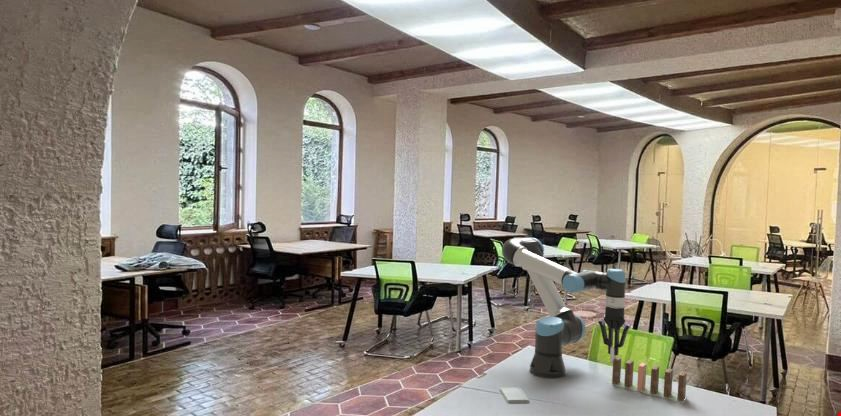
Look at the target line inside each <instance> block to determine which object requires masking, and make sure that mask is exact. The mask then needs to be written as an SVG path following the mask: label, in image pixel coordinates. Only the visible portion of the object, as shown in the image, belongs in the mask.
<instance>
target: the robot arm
mask: <svg viewBox="0 0 841 416" xmlns="http://www.w3.org/2000/svg"><path fill="white" fill-rule="evenodd" d="M544 251H545V248H544V245H543V243H542V242H541V241H540V239H537V238H535V237H530V236H527V237H513V238H509V239H508V240H506V241H505V242H504V243H503V245H502V248H501V254H502V257H503V258H504V260H505V261H507V262H508V263H509V264H511V265H514V266H515V267H518V268H519V267H521V268H522V270H524V271H526V272H527V273H528V275H529V277H530V279H531V281H532V283H533V285H534V287H535V290H537V293H538V295H539V297H540V299H541V301H542V302H543V305H544V306H545V309H546V311H547V313H548V314H549V316H542V317H541V318H539V319H538V320H536V324H535V329H534V330H535V335H534V336H535V339H534V341H535V342H534V355H533V357H532V360H531V362H530V365H529V371H530V373H531V374H533V375H534V376H537V377H541V378H546V379H560V378H564V377H565V376H566V365H565V362H564V359H563V347H565V346H568V345H572V344H573V345H574V344H577V343H578V342H580V341H581V340H583V339H584V337H585V336H586V335H585V334H586V330H587V329H586V324H585V322H584V320H583V318H582V317H579V315H575V313H574V311H573V310H572V309H571V308H570V307H567V305H566V303H565V301H564V299H563V298H562V296H561V294H560V292H559V290H558V288H557V286H556V284H555V283H557V284H559V285H560V286H563V289H564V290H565V291H566V292H568V293H579V292H584V291H590V290H599V291H605V305H606V306H605V309H604V317H603V319H600V320H599V321H598V325H599V326H600V330H601V335H602V336H601V337H602V341H603V344H604V345H606V346H607V347H608V348H607V354H608V355H610V357H609V363H611V364H613V360H614V359H615V358H616V357H617V356H618V355H619V350H620V349H619V348H622V347H624V344H625V341H626V338H627V334H628V331H629V330H630V329H631V327H632V326H631V324H628V323H627V322H626V319H625V305H626V304H625V302H626V300H625V299H626V295H625V294H626V282H627V279H626V272H625V270H624V269H620V268H608V269H607V270H606V272H603V271H602V272H601V271H596V270H593V269H583V270H582V271H581V272H576V271H574V270H572V269H570V268H568V267H565V266H563V265H562V264H559V263H557V262H554V261H551V260H550V259H547V258H545V256H544V255H545V252H544ZM554 282H555V283H554ZM606 326H607V327H608V328H607V327H606ZM622 327H623V330H622V333H621V337H620V332H621V328H622ZM607 330H608V331H607Z"/></svg>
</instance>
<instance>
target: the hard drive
mask: <svg viewBox="0 0 841 416" xmlns="http://www.w3.org/2000/svg"><path fill="white" fill-rule="evenodd" d="M499 391H500V392H501V394H502V396H503V397H504V399H505V401H506V402H507V404H529V403H530V399H529V398H528V397H527V395H526V394H525V393H524V391H523V390H522V389H521V387H499Z"/></svg>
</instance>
